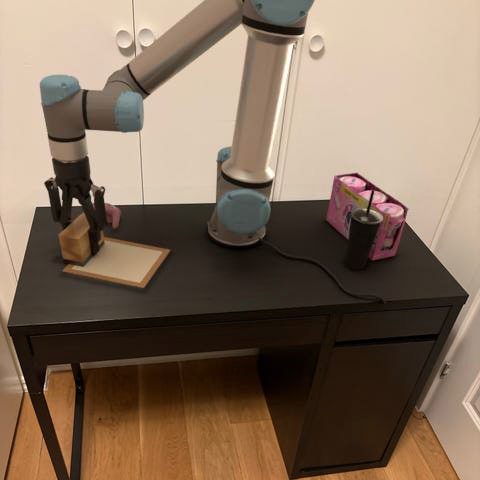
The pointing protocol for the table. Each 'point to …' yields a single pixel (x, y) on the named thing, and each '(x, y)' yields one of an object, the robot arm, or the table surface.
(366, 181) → the gum box
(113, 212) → the video game controller
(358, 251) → the drinking cup
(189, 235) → the table surface
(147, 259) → the board
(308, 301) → the table surface
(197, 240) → the table surface
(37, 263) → the table surface
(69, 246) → the eraser
